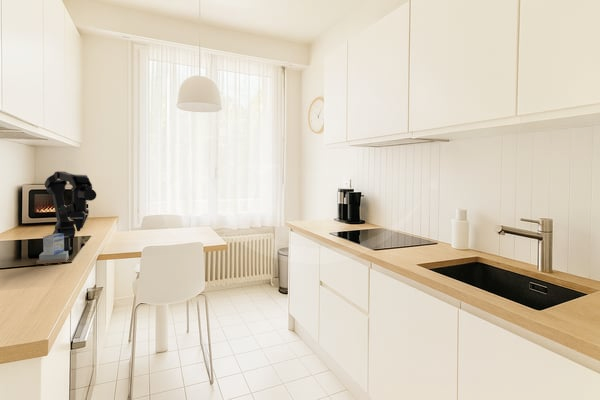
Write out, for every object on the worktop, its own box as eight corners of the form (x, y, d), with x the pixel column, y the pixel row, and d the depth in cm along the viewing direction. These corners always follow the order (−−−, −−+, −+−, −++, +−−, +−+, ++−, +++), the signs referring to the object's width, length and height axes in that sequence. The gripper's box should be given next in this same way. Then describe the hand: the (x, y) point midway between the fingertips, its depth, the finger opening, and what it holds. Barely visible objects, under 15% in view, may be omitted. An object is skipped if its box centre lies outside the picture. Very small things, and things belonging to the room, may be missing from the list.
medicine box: (53, 255, 148) (53, 236, 147) (43, 255, 147) (42, 236, 147) (64, 251, 156) (64, 233, 155) (54, 251, 155) (54, 233, 155)
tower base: (40, 262, 152) (40, 257, 152) (68, 260, 157) (68, 255, 157) (36, 266, 146) (36, 261, 146) (66, 264, 151) (66, 259, 151)
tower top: (42, 257, 152) (42, 252, 152) (68, 255, 157) (68, 250, 157) (39, 260, 147) (39, 255, 147) (66, 258, 152) (66, 253, 151)
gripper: (63, 198, 169) (63, 227, 170) (56, 200, 153) (56, 233, 154) (88, 198, 174) (89, 226, 175) (84, 200, 158) (84, 232, 159)
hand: (79, 229), depth 166 cm, fingers open, 9 cm apart
